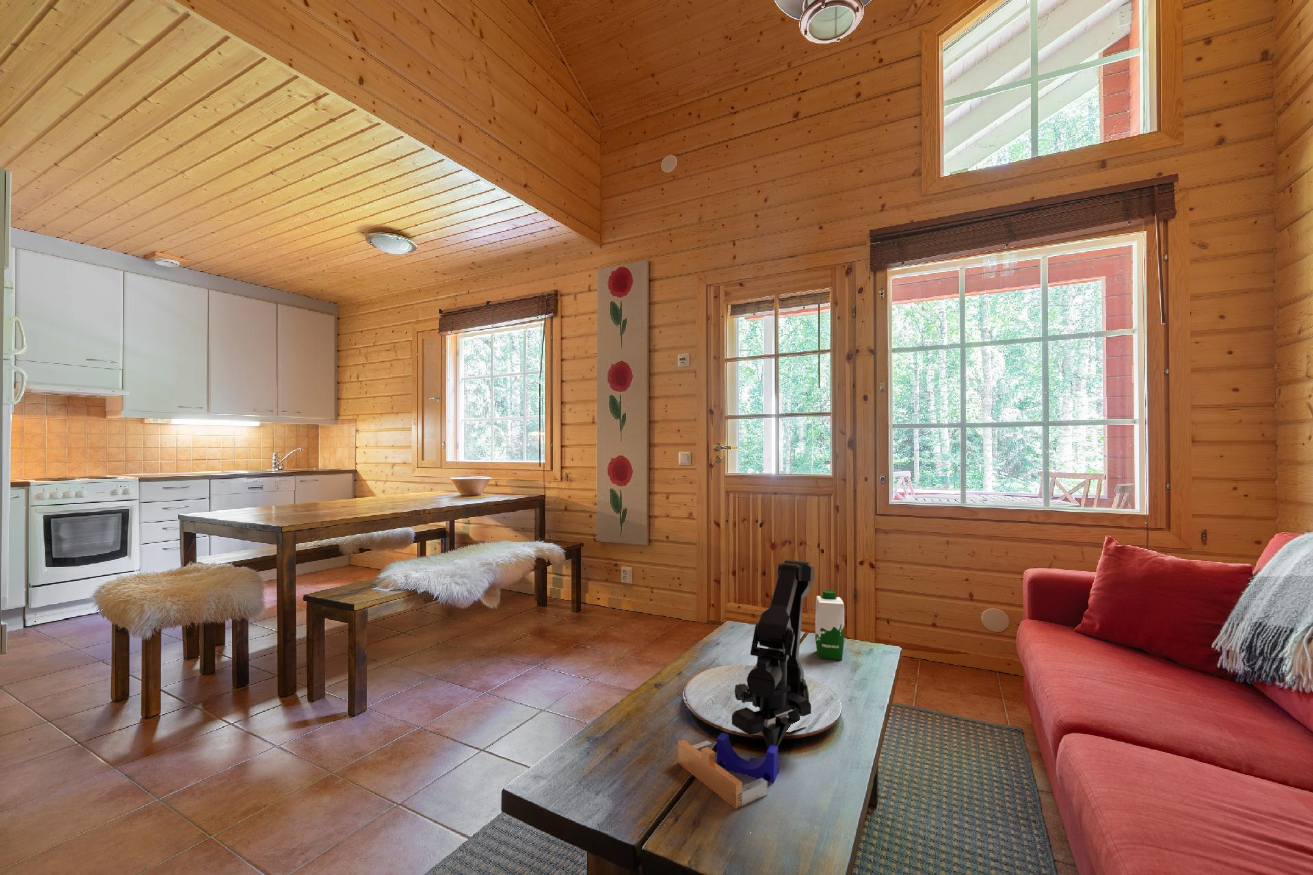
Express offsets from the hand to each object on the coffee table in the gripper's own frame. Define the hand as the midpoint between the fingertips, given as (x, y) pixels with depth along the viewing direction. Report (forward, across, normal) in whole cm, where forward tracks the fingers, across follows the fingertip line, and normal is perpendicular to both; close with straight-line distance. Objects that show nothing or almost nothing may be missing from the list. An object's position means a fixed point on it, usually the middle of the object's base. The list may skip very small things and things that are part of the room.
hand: (771, 752), depth 122 cm
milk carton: (+1, -60, -33) cm, 68 cm away
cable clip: (+2, +8, +1) cm, 8 cm away
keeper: (+1, +14, 0) cm, 14 cm away
